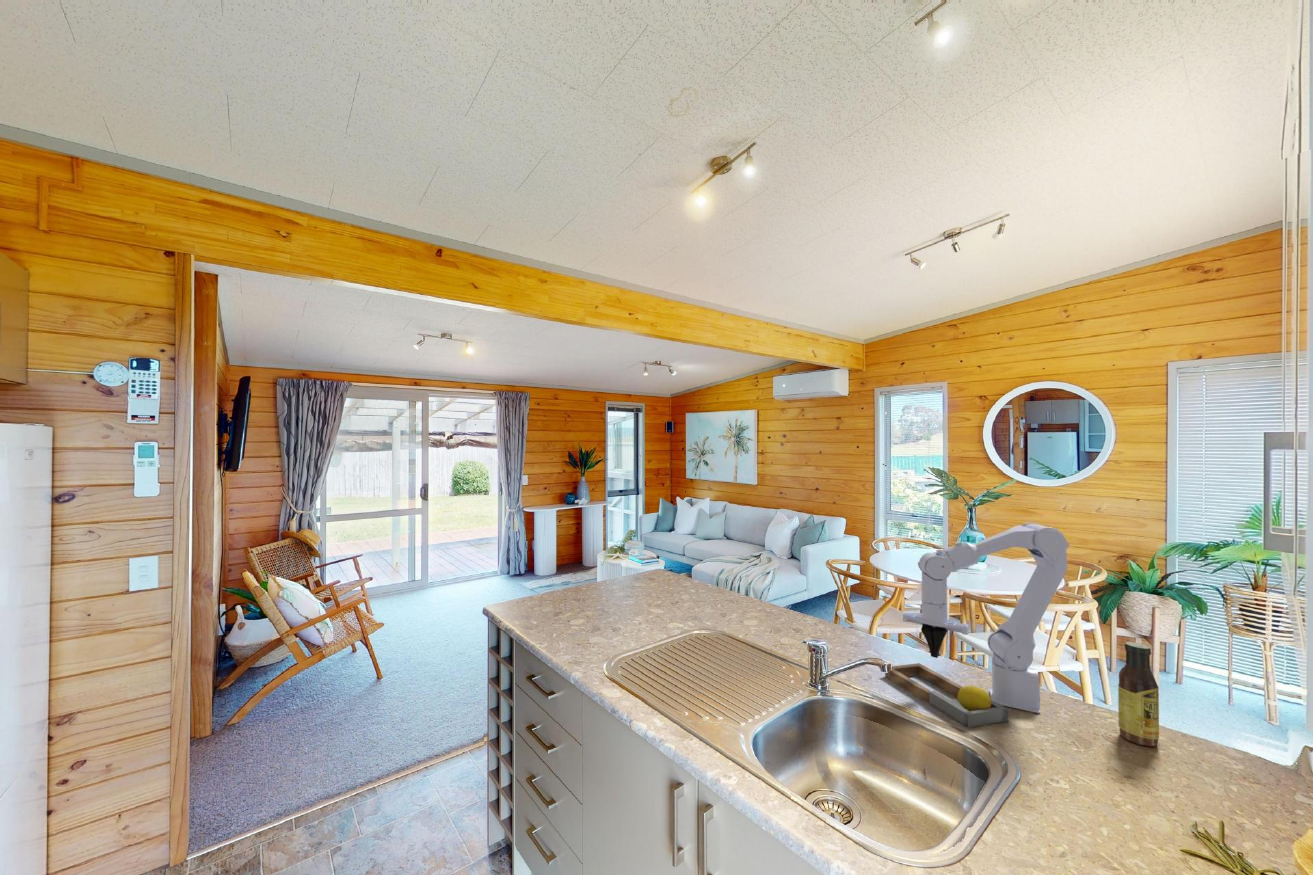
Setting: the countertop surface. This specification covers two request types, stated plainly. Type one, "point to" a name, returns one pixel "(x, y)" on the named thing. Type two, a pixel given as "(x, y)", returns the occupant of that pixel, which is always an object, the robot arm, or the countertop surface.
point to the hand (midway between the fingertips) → (934, 656)
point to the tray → (966, 717)
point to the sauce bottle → (1138, 697)
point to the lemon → (974, 698)
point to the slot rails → (904, 671)
